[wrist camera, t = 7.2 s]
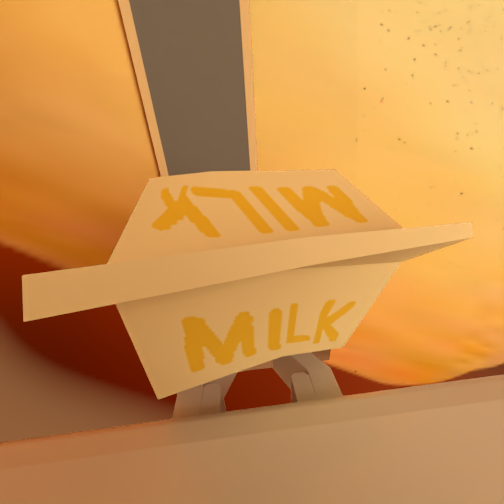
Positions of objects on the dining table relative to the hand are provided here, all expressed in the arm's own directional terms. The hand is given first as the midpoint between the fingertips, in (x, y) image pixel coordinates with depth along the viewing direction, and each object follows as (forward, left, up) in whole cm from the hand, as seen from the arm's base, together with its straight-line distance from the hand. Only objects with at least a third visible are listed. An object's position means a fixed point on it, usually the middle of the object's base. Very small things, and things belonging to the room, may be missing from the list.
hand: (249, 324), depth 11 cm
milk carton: (+3, 0, -12) cm, 12 cm away
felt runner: (-13, -2, -14) cm, 19 cm away
